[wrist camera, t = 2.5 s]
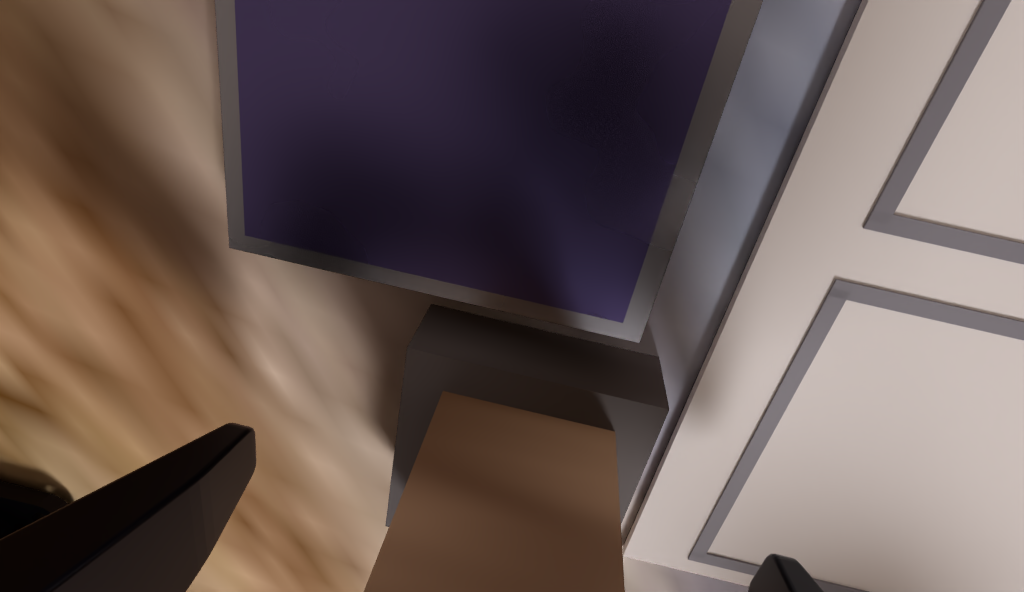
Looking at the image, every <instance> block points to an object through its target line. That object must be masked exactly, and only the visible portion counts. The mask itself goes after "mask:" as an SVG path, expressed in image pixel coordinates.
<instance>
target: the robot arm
mask: <svg viewBox="0 0 1024 592" xmlns="http://www.w3.org/2000/svg"><path fill="white" fill-rule="evenodd" d="M255 466H256V442H255V431H254V429H253V428H251V427H249V426H244V425H240V424H236V423H228V424H225V425H223V426H221V427H219V428H217V429H215V430H213V431H211V432H209V433H207V434H205V435H204V436H202V437H200V438H198V439H196V440H194V441H192V442H190V443H188V444H186V445H184V446H182V447H180V448H178V449H176V450H174V451H172V452H170V453H168V454H166V455H164V456H162V457H160V458H158V459H156V460H155V461H153V462H151V463H149V464H147V465H145V466H143V467H141V468H139V469H137V470H135V471H133V472H131V473H129V474H127V475H125V476H123V477H121V478H119V479H117V480H115V481H113V482H111V483H109V484H107V485H106V486H104V487H102V488H100V489H98V490H96V491H94V492H92V493H90V494H88V495H86V496H84V497H82V498H80V499H78V500H76V501H74V502H72V503H70V504H68V503H67V502H66V501H64V500H63V499H61V498H60V497H58V496H56V495H53V494H50V493H46V492H42V491H38V490H34V489H30V488H26V487H22V486H18V485H14V484H10V483H6V482H1V481H0V592H186V590H187V589H188V587H189V586H190V584H191V583H192V581H193V580H194V578H195V577H196V576H197V574H198V573H199V571H200V569H201V568H202V566H203V565H204V563H205V562H206V560H207V558H208V557H209V555H210V553H211V551H212V550H213V548H214V546H215V544H216V543H217V541H218V539H219V537H220V535H221V533H222V531H223V529H224V528H225V526H226V524H227V522H228V520H229V518H230V516H231V514H232V513H233V511H234V509H235V507H236V505H237V503H238V501H239V499H240V498H241V496H242V494H243V492H244V490H245V488H246V486H247V484H248V483H249V481H250V479H251V477H252V475H253V473H254V470H255ZM748 592H824V591H823V590H822V588H821V587H820V586H819V585H818V584H817V583H816V581H815V580H814V579H813V578H812V577H811V576H810V574H809V573H808V572H807V571H806V570H805V568H804V567H803V566H802V565H801V564H800V563H799V562H798V561H797V560H796V559H794V558H791V557H787V556H783V555H779V554H770V555H768V556H767V557H766V558H765V560H764V561H763V563H762V565H761V566H760V568H759V569H758V571H757V572H756V574H755V576H754V577H753V579H752V580H751V582H750V585H749V590H748Z"/></svg>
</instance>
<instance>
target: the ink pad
mask: <svg viewBox="0 0 1024 592" xmlns="http://www.w3.org/2000/svg"><path fill="white" fill-rule="evenodd" d="M762 2H763V0H215V11H216V28H217V45H218V63H219V80H220V97H221V114H222V131H223V148H224V165H225V182H226V199H227V216H228V233H229V248H232V249H237V250H241V251H245V252H250V253H254V254H258V255H263V256H267V257H271V258H275V259H280V260H284V261H288V262H293V263H297V264H301V265H306V266H310V267H314V268H319V269H323V270H327V271H331V272H336V273H340V274H344V275H349V276H353V277H357V278H362V279H366V280H370V281H374V282H379V283H383V284H387V285H392V286H396V287H400V288H405V289H409V290H413V291H417V292H422V293H426V294H430V295H435V296H439V297H443V298H448V299H452V300H456V301H461V302H465V303H469V304H473V305H478V306H482V307H486V308H491V309H495V310H499V311H504V312H508V313H512V314H516V315H521V316H525V317H529V318H534V319H538V320H542V321H547V322H551V323H555V324H559V325H564V326H568V327H572V328H577V329H581V330H585V331H590V332H594V333H598V334H603V335H607V336H611V337H615V338H620V339H624V340H628V341H633V342H637V343H640V340H641V337H642V334H643V332H644V329H645V326H646V323H647V320H648V318H649V315H650V312H651V309H652V307H653V304H654V301H655V298H656V296H657V293H658V290H659V287H660V284H661V282H662V279H663V276H664V273H665V271H666V268H667V265H668V262H669V260H670V257H671V254H672V251H673V248H674V246H675V243H676V240H677V237H678V235H679V232H680V229H681V226H682V224H683V221H684V218H685V215H686V212H687V210H688V207H689V204H690V201H691V199H692V196H693V193H694V190H695V188H696V185H697V182H698V179H699V176H700V174H701V171H702V168H703V165H704V163H705V160H706V157H707V154H708V152H709V149H710V146H711V143H712V140H713V138H714V135H715V132H716V129H717V127H718V124H719V121H720V118H721V116H722V113H723V110H724V107H725V104H726V102H727V99H728V96H729V93H730V91H731V88H732V85H733V82H734V80H735V77H736V74H737V71H738V68H739V66H740V63H741V60H742V57H743V55H744V52H745V49H746V46H747V44H748V41H749V38H750V35H751V32H752V30H753V27H754V24H755V21H756V19H757V16H758V13H759V10H760V8H761V5H762Z"/></svg>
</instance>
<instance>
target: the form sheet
mask: <svg viewBox="0 0 1024 592" xmlns="http://www.w3.org/2000/svg"><path fill="white" fill-rule="evenodd" d="M622 550H623V556H624V557H628V558H632V559H636V560H640V561H644V562H648V563H653V564H657V565H661V566H665V567H669V568H673V569H677V570H681V571H686V572H690V573H694V574H698V575H702V576H706V577H710V578H715V579H719V580H723V581H727V582H731V583H735V584H739V585H743V586H748V587H749V585H750V582H751V580H752V579H753V577H754V576H755V574H756V572H757V571H758V569H759V568H760V566H761V565H762V563H763V561H764V560H765V558H766V557H767V556H768V555H770V554H779V555H783V556H787V557H791V558H794V559H796V560H797V561H798V562H799V563H800V564H801V565H802V566H803V567H804V568H805V570H806V571H807V572H808V573H809V574H810V576H811V577H812V578H813V579H814V580H815V581H816V583H817V584H818V585H819V586H820V587H821V588H822V590H823V591H824V592H1024V0H862V1H861V4H860V6H859V8H858V11H857V13H856V15H855V17H854V20H853V22H852V24H851V27H850V29H849V31H848V33H847V36H846V38H845V40H844V43H843V45H842V47H841V50H840V52H839V54H838V56H837V59H836V61H835V63H834V66H833V68H832V70H831V72H830V75H829V77H828V79H827V82H826V84H825V86H824V88H823V91H822V93H821V95H820V98H819V100H818V102H817V104H816V107H815V109H814V111H813V114H812V116H811V118H810V120H809V123H808V125H807V127H806V130H805V132H804V134H803V137H802V139H801V141H800V143H799V146H798V148H797V150H796V153H795V155H794V157H793V159H792V162H791V164H790V166H789V169H788V171H787V173H786V175H785V178H784V180H783V182H782V185H781V187H780V189H779V191H778V194H777V196H776V198H775V201H774V203H773V205H772V207H771V210H770V212H769V214H768V217H767V219H766V221H765V224H764V226H763V228H762V230H761V233H760V235H759V237H758V240H757V242H756V244H755V246H754V249H753V251H752V253H751V256H750V258H749V260H748V262H747V265H746V267H745V269H744V272H743V274H742V276H741V278H740V281H739V283H738V285H737V288H736V290H735V292H734V294H733V297H732V299H731V301H730V304H729V306H728V308H727V310H726V313H725V315H724V317H723V320H722V322H721V324H720V327H719V329H718V331H717V333H716V336H715V338H714V340H713V343H712V345H711V347H710V349H709V352H708V354H707V356H706V359H705V361H704V363H703V365H702V368H701V370H700V372H699V375H698V377H697V379H696V381H695V384H694V386H693V388H692V391H691V393H690V395H689V397H688V400H687V402H686V404H685V407H684V409H683V411H682V414H681V416H680V418H679V420H678V423H677V425H676V427H675V430H674V432H673V434H672V436H671V439H670V441H669V443H668V446H667V448H666V450H665V452H664V455H663V457H662V459H661V462H660V464H659V466H658V468H657V471H656V473H655V475H654V478H653V480H652V482H651V484H650V487H649V489H648V491H647V494H646V496H645V498H644V501H643V503H642V505H641V507H640V510H639V512H638V514H637V517H636V519H635V521H634V523H633V526H632V528H631V530H630V533H629V535H628V537H627V539H626V542H625V544H624V546H623V549H622Z"/></svg>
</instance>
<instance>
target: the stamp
mask: <svg viewBox="0 0 1024 592" xmlns="http://www.w3.org/2000/svg"><path fill="white" fill-rule="evenodd" d="M668 411H669V406H668V401H667V395H666V390H665V385H664V380H663V375H662V370H661V365H660V360H659V357H656V356H652V355H648V354H643V353H639V352H635V351H631V350H626V349H622V348H618V347H613V346H609V345H605V344H601V343H596V342H592V341H588V340H583V339H579V338H575V337H570V336H566V335H562V334H558V333H553V332H549V331H545V330H540V329H536V328H532V327H528V326H523V325H519V324H515V323H510V322H506V321H502V320H498V319H493V318H489V317H485V316H480V315H476V314H472V313H468V312H463V311H459V310H455V309H450V308H446V307H442V306H437V305H433V304H431V305H430V307H429V309H428V311H427V313H426V315H425V316H424V318H423V320H422V322H421V324H420V325H419V327H418V329H417V331H416V333H415V334H414V336H413V338H412V340H411V342H410V344H409V345H408V347H407V353H406V361H405V370H404V378H403V386H402V394H401V403H400V411H399V419H398V427H397V436H396V444H395V452H394V460H393V469H392V477H391V485H390V494H389V502H388V510H387V518H386V526H388V527H389V529H388V532H387V534H386V537H385V539H384V542H383V544H382V547H381V549H380V552H379V555H378V557H377V560H376V562H375V565H374V567H373V570H372V572H371V575H370V577H369V580H368V582H367V585H366V588H365V590H364V592H625V590H624V573H623V556H622V538H621V523H622V521H623V518H624V516H625V513H626V511H627V509H628V506H629V504H630V502H631V499H632V497H633V494H634V492H635V490H636V487H637V485H638V483H639V480H640V478H641V475H642V473H643V471H644V468H645V466H646V464H647V461H648V459H649V457H650V454H651V452H652V449H653V447H654V445H655V442H656V440H657V438H658V435H659V433H660V430H661V428H662V426H663V423H664V421H665V419H666V416H667V414H668Z"/></svg>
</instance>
